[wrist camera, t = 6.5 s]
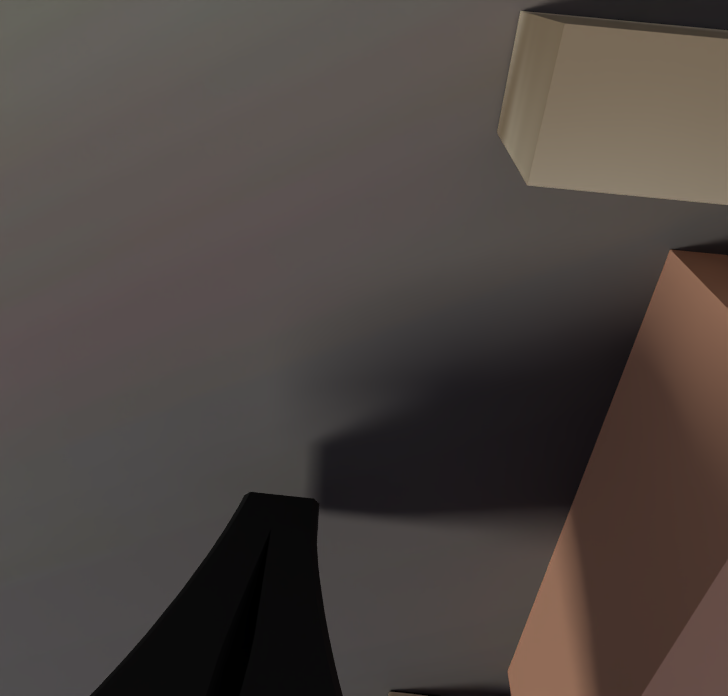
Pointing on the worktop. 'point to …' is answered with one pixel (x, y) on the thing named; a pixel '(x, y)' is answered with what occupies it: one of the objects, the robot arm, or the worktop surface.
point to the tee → (647, 517)
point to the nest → (618, 109)
